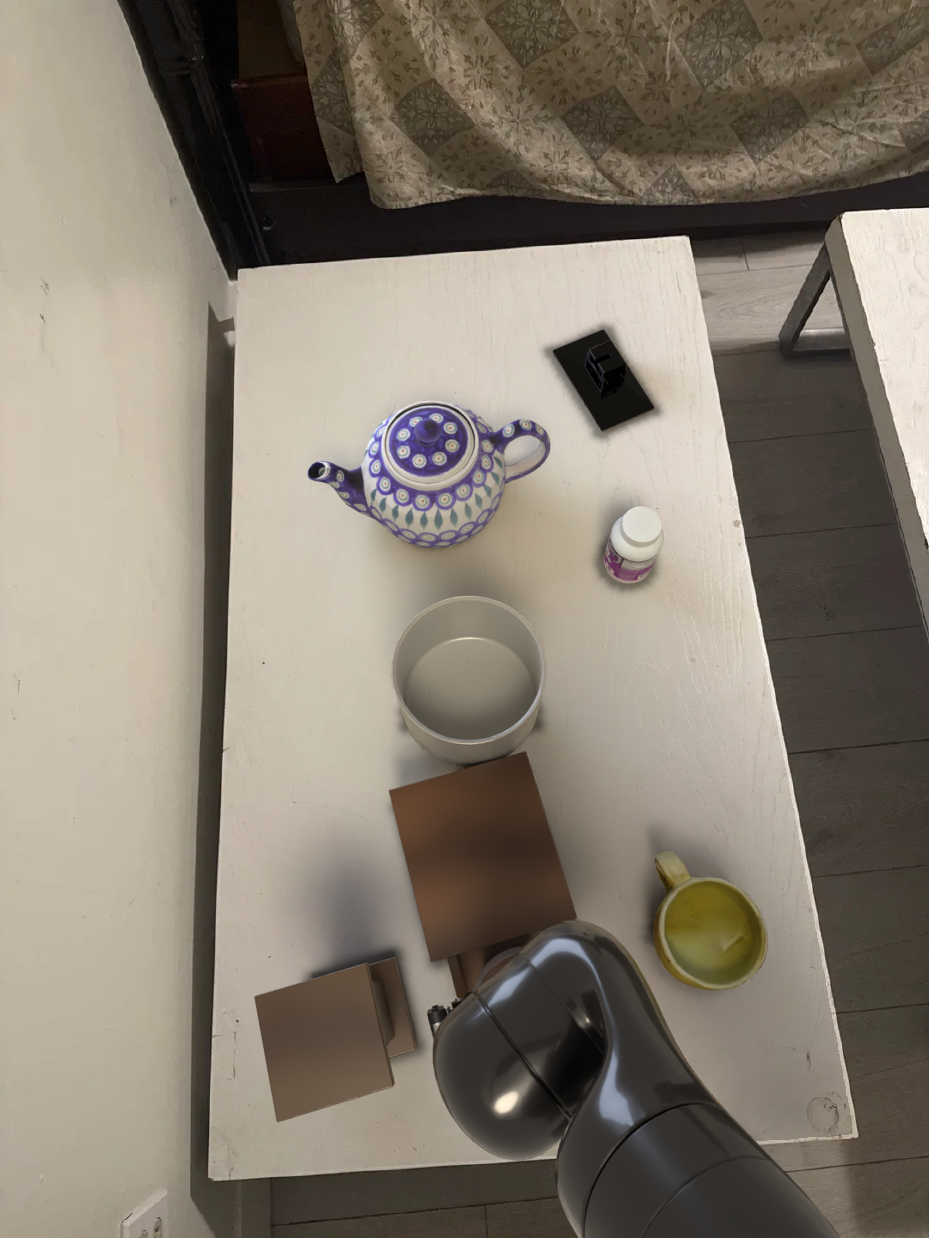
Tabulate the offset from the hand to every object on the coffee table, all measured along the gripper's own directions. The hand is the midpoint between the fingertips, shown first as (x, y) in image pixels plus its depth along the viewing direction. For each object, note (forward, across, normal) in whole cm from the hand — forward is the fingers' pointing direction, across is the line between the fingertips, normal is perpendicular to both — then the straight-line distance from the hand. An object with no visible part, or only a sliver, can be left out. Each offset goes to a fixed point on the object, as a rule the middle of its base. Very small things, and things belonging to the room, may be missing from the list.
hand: (520, 995), depth 70 cm
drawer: (+10, 0, -1) cm, 10 cm away
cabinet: (+11, 0, +12) cm, 16 cm away
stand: (+11, -14, +2) cm, 18 cm away
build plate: (+10, +29, +61) cm, 68 cm away
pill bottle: (+11, +24, +38) cm, 46 cm away
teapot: (+10, +6, +51) cm, 52 cm away
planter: (+11, +3, +26) cm, 28 cm away
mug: (+11, +17, +2) cm, 20 cm away
